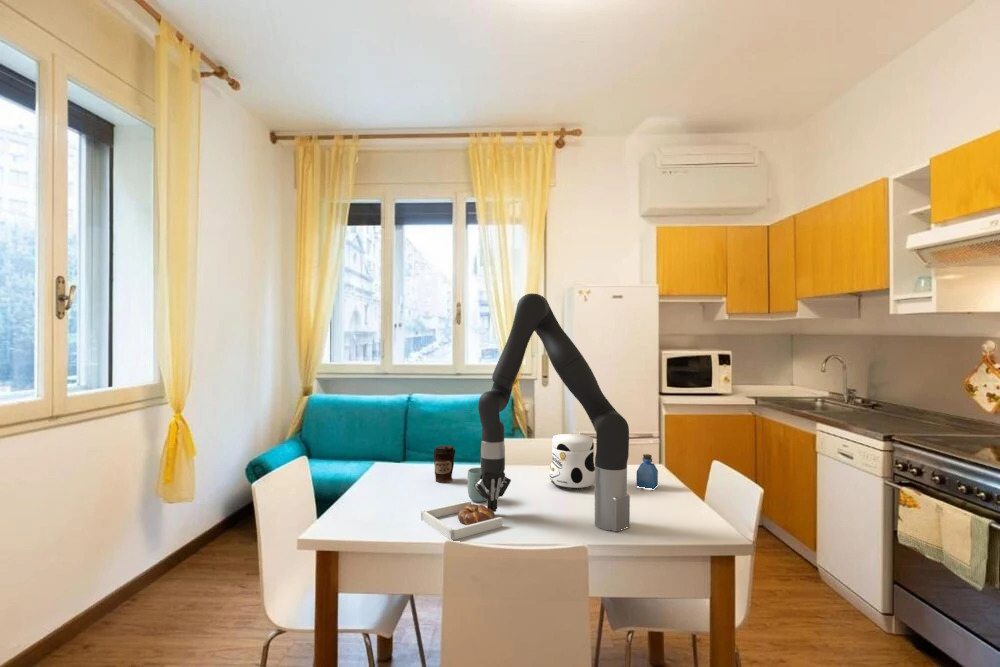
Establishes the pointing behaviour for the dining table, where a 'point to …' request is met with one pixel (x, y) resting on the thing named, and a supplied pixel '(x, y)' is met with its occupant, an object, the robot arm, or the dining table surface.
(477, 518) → the pretzel
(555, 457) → the milk container
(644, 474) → the perfume bottle
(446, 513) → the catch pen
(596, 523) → the robot arm
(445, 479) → the coffee cup
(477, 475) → the cup
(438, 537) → the dining table surface
